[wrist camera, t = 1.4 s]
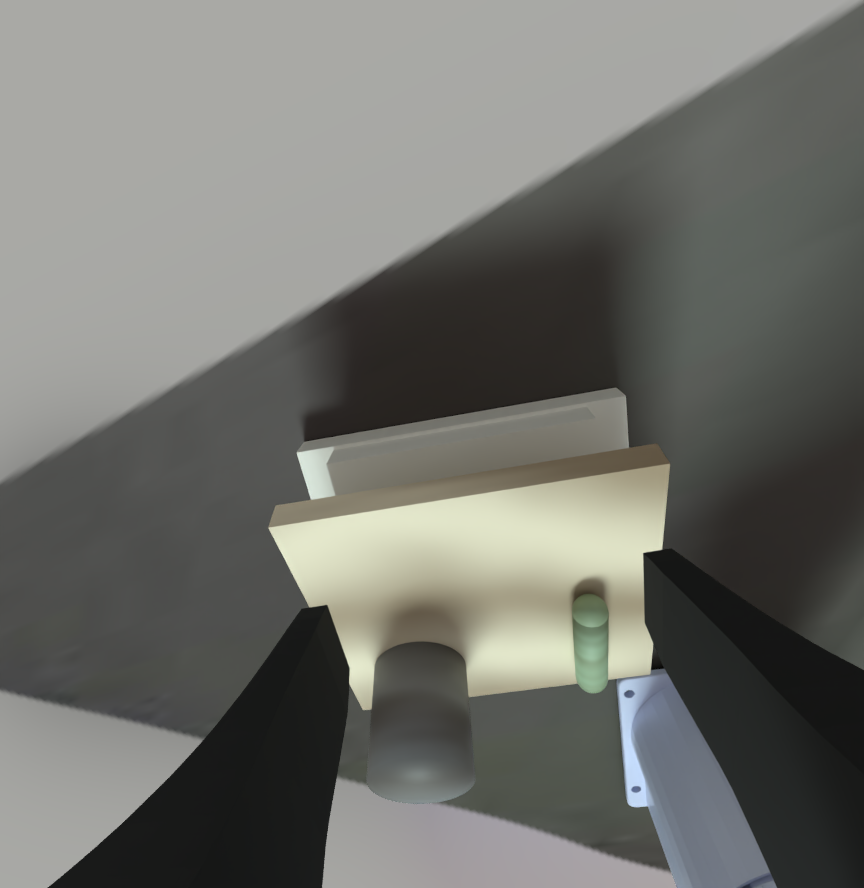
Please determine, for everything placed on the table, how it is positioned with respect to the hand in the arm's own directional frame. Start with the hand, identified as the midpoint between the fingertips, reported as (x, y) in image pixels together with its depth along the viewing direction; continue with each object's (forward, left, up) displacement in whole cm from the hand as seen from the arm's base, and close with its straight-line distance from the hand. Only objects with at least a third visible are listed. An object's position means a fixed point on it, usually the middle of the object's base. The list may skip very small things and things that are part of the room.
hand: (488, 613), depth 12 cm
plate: (-4, 0, -7) cm, 8 cm away
